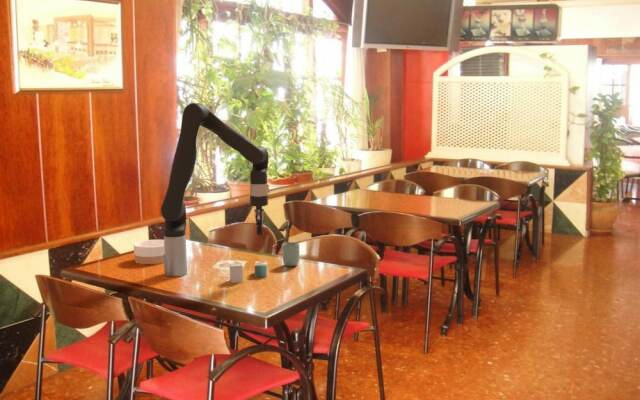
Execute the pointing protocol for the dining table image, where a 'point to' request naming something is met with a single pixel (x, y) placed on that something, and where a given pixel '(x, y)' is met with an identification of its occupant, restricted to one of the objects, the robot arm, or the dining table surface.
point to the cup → (290, 253)
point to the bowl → (149, 251)
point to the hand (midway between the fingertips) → (259, 234)
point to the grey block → (236, 273)
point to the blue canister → (261, 269)
